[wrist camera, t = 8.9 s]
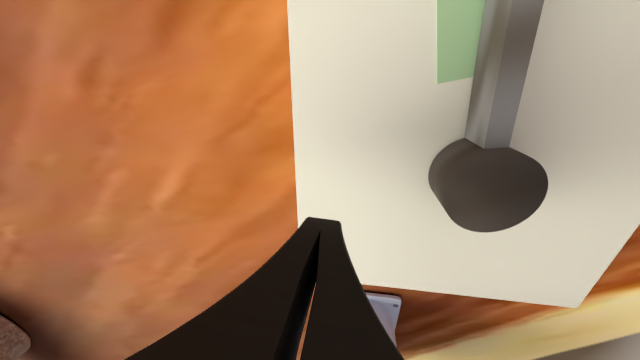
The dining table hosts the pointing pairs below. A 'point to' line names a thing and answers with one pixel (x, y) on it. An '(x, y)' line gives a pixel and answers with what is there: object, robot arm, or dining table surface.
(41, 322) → the dining table surface
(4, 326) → the ceramic pot
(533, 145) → the dial plate
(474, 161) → the grey lever with knob
